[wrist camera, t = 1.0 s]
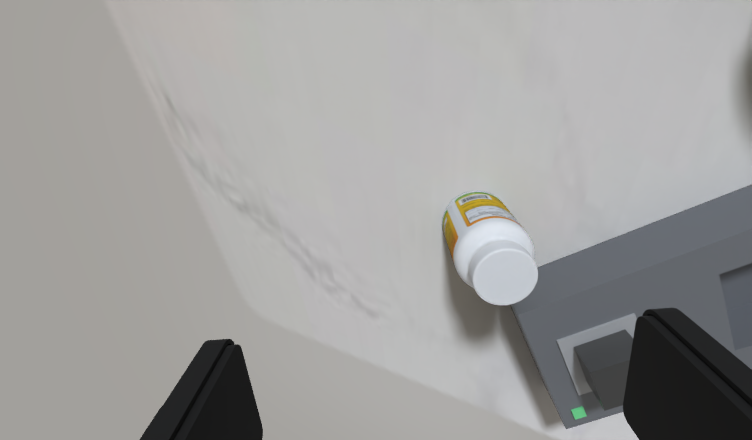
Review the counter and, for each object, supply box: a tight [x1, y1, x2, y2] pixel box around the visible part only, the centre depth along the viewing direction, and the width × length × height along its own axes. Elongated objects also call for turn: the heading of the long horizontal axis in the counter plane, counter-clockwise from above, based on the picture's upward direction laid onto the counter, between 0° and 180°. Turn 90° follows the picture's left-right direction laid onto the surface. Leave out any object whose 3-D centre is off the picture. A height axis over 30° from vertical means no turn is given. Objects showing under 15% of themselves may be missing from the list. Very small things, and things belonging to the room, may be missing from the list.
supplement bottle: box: [442, 191, 538, 306], centre depth 29 cm, size 5×5×10 cm
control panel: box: [510, 185, 752, 429], centre depth 32 cm, size 24×13×8 cm, turn 116°
